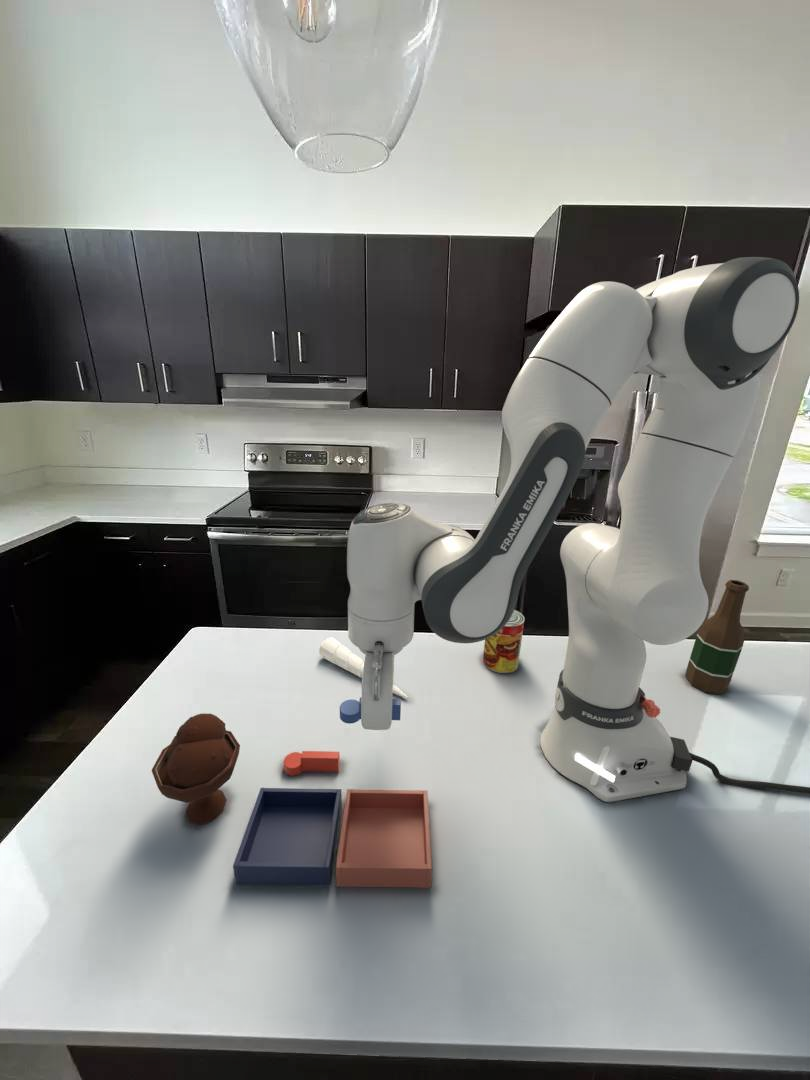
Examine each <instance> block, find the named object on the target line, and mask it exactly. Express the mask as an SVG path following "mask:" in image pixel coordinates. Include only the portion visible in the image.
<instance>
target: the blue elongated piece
mask: <svg viewBox="0 0 810 1080" xmlns="http://www.w3.org/2000/svg"><path fill="white" fill-rule="evenodd" d="M401 711H402V697H401V698H398V697H397V698H396V697H393V701H392V721H401V716H402V715H401ZM339 719H340V720H341V722H343V723H344V724H349V725H350V724H355V723H358V722H359V721H361V697H360V696H359V701H358V699H347V700H346V699H345V700H343V701H342V702H341V703H340V705H339Z"/></svg>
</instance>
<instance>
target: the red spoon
mask: <svg viewBox="0 0 810 1080" xmlns="http://www.w3.org/2000/svg"><path fill="white" fill-rule="evenodd" d="M340 754H341V753H340V751H327V750H325V751H324V750H320V751H318V750H302V751H301V752H298V751H293V752H290V753H288V754H287V755H285V757H284V758H283V771H284V773H285V774H286V775H288V776H291V777H292V776H294V777H295V776H298V775H299V774H301V773H302V772H331V773H332V772H337V773H338V772H340V766H341V759H340Z"/></svg>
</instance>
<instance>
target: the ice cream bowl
mask: <svg viewBox="0 0 810 1080" xmlns="http://www.w3.org/2000/svg"><path fill="white" fill-rule="evenodd" d="M240 748H241V745H240V743H239V742H238V740H237V738H236V736H235V735H234V733H233V732H232V731H231V730H227V729H226V723H225V722H224V721H223V720H222V719H220V718H219V717H218V716H217V715H215V714H213V713H198V714H195V715H194V716H190V717H189V718H188V719H187V720H186V721H185V722H184V723H183V724H182V725H180V726H179V728H178V729H177V731H176V733H175V735H174V737H173V738H172V740H171V742H170V743H169V744H168V745H167V746H166V747H164V748H162V750H161V752H160V754H159V756H158V758H157V759H156V761H155V763H154V764H153V766H152V768H151V773H152V776H153V778H154V781H155V784H156V786H157V787H156V788H157V789H158V790H159V792H160V794H161V795H162V796H164V797H166V798H167V799H170V800H175V801H179V802H183V803H188V804H187V806H186V809H185V816H186V820H187V821H188V823H190V824H195V825H198V826H199V825H200V826H201V825H203V824H207V823H210V822H212V821H214V820H215V819H216V818H218V816H220V815H221V813H223V812H224V810H225V807H226V804H227V797H226V795H225V794H224V792H223V790H222V789H220V788H222V787H223V786H224V785H225V784H226V783H228V781H229V780H231V777H232V776H233V773H234V770H235V767H236V764H237V761H238V759H239V755H240Z"/></svg>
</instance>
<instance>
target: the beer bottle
mask: <svg viewBox="0 0 810 1080" xmlns="http://www.w3.org/2000/svg"><path fill="white" fill-rule="evenodd" d="M724 586H725V589H724V592H723V594H722V596H721V600H720V602H719V604H718V607H717V609H716V610H715V612H714V614H713V615H712V616H710V617H709V618H708V619H705V620H704V621H703V623H702V625H701V626H700V627H699V628H698V630H697V634H696V637H695V639H694V644H693V646H692V650H691V653H690V656H689V659H688V663H687V667H686V671H685V675H684V677H685V678H686V680H687V681H688V683H689V684H690V686H692V687H694V688H696V689H697V690H699V691H701V692H703V693H706V694H712V695H713V694H714V695H719V696H720V695H722V694H724V692H725V691H726V690H727V689H728V688H729V686H730V684H731V681H732V678H733V676H734V672H735V669H736V667H737V664H738V661H739V659H740V656H741V653H742V650H743V647H744V644H745V639H746V636H745V630H744V628H743V626H742V624H741V613H742V610H743V605H744V601H745V599H746V598H745V597H746V593H747V592H748V591H749V590H750V587H749V585H748V584H747V583H745V582H743V581H741V580H736V579H729V580H727V581H726V583H725V584H724Z"/></svg>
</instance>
